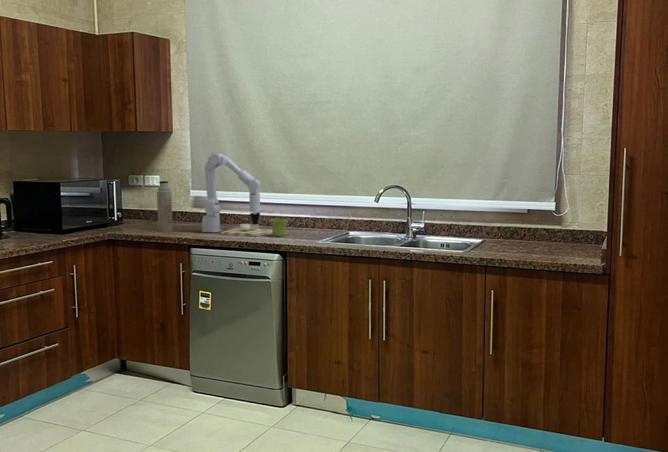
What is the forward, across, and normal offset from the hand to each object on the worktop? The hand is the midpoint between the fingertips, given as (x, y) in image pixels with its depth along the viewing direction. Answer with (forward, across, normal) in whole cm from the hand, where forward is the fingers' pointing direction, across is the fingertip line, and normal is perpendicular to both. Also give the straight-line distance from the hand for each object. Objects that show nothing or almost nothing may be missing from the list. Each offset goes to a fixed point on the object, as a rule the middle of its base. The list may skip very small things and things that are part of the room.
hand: (255, 225), depth 375 cm
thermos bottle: (+4, +15, +51) cm, 53 cm away
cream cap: (+2, -5, +3) cm, 6 cm away
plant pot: (+4, -16, -12) cm, 20 cm away
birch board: (+4, -5, +5) cm, 8 cm away
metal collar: (+2, -5, +5) cm, 7 cm away
